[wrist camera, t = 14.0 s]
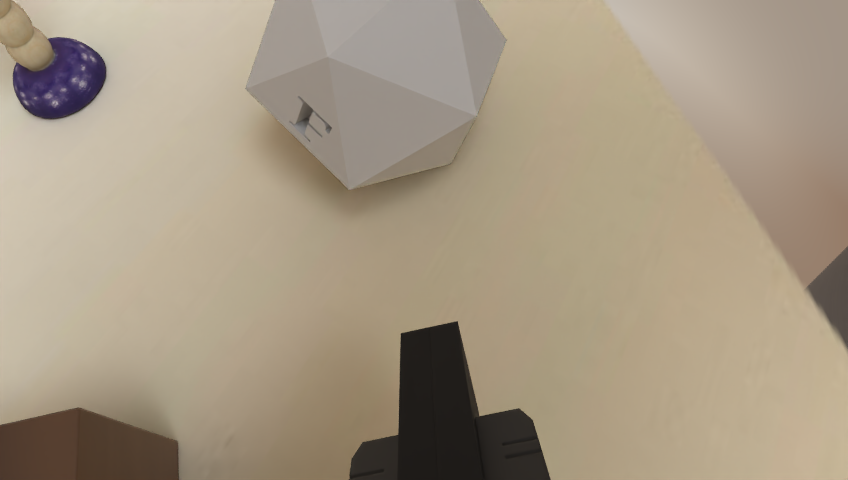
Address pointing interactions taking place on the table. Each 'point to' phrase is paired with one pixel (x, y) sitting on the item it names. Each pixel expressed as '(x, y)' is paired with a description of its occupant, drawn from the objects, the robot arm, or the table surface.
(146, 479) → the walnut block
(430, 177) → the table surface
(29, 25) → the toy lamp
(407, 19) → the die
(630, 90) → the table surface
